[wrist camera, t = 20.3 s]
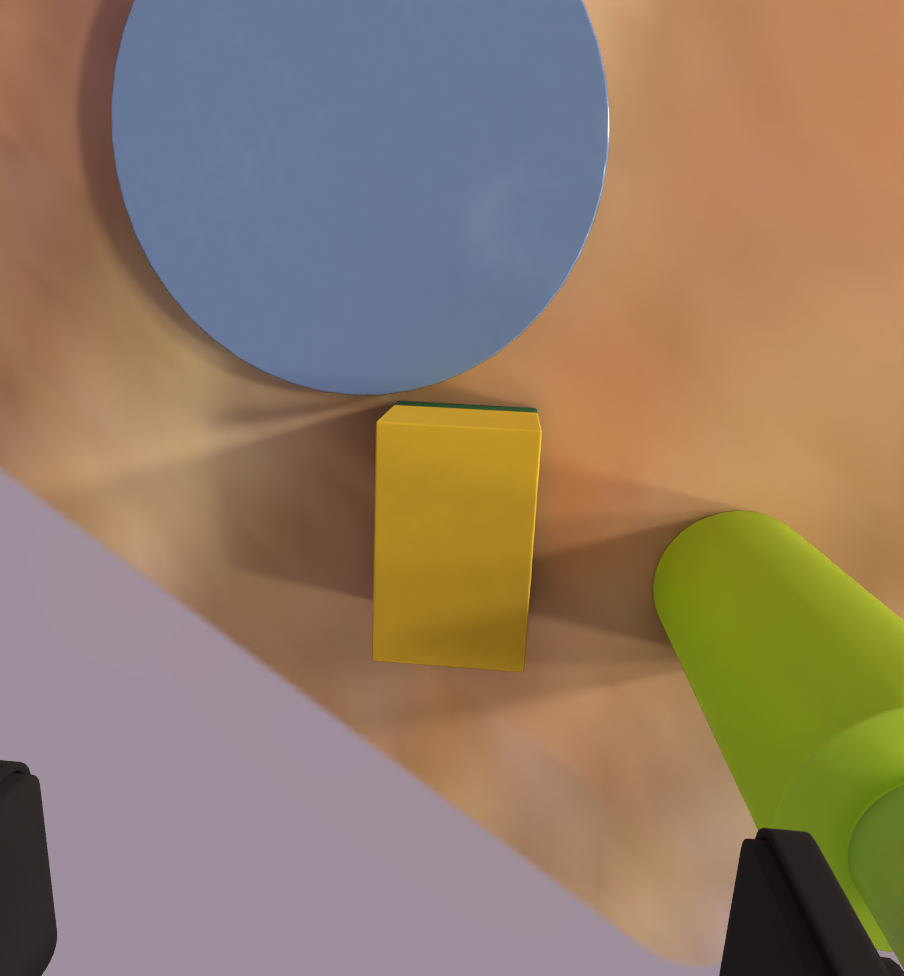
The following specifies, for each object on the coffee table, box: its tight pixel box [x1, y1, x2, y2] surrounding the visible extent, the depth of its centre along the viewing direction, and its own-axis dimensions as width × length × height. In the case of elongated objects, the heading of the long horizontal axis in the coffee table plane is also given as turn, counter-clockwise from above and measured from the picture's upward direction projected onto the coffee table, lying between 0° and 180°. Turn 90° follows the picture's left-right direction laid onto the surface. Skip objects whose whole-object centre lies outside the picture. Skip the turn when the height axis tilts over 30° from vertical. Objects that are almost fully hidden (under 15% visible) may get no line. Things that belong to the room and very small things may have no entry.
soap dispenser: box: [653, 511, 904, 968], centre depth 18 cm, size 6×7×20 cm
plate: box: [111, 0, 610, 395], centre depth 24 cm, size 16×16×1 cm
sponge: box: [372, 401, 542, 672], centre depth 25 cm, size 8×5×4 cm, turn 178°
